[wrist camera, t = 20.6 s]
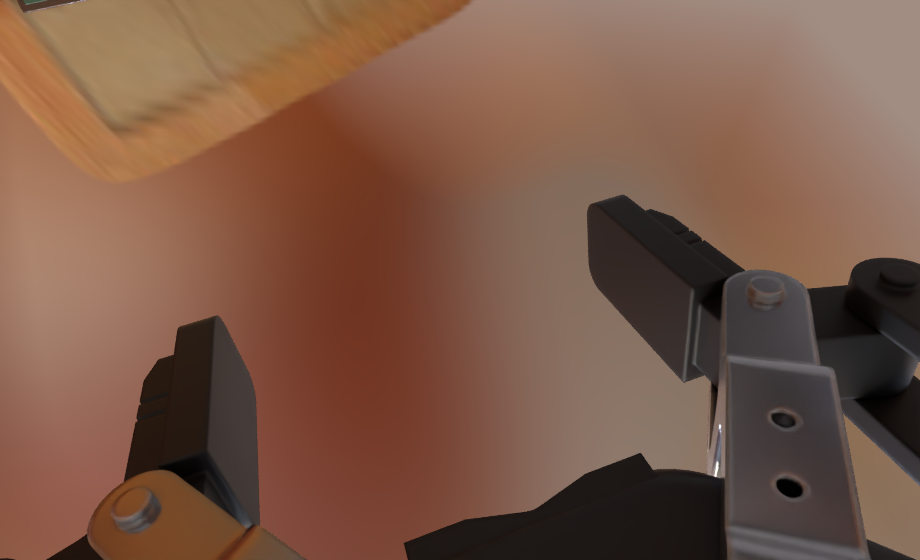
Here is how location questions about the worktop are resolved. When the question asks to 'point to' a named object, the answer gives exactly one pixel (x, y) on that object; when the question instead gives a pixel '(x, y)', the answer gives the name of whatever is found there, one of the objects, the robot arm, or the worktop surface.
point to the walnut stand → (42, 4)
